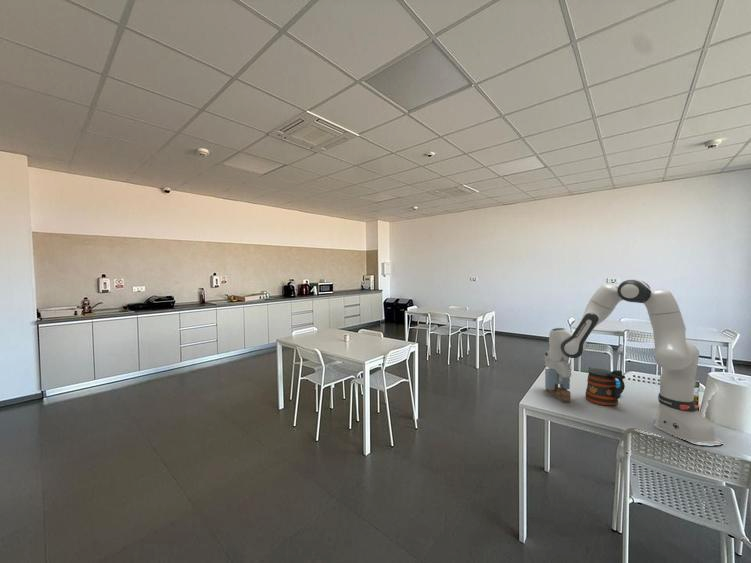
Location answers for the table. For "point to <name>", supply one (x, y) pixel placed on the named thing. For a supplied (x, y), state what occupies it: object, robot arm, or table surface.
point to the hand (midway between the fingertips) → (557, 379)
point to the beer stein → (604, 386)
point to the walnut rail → (561, 393)
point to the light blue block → (555, 380)
